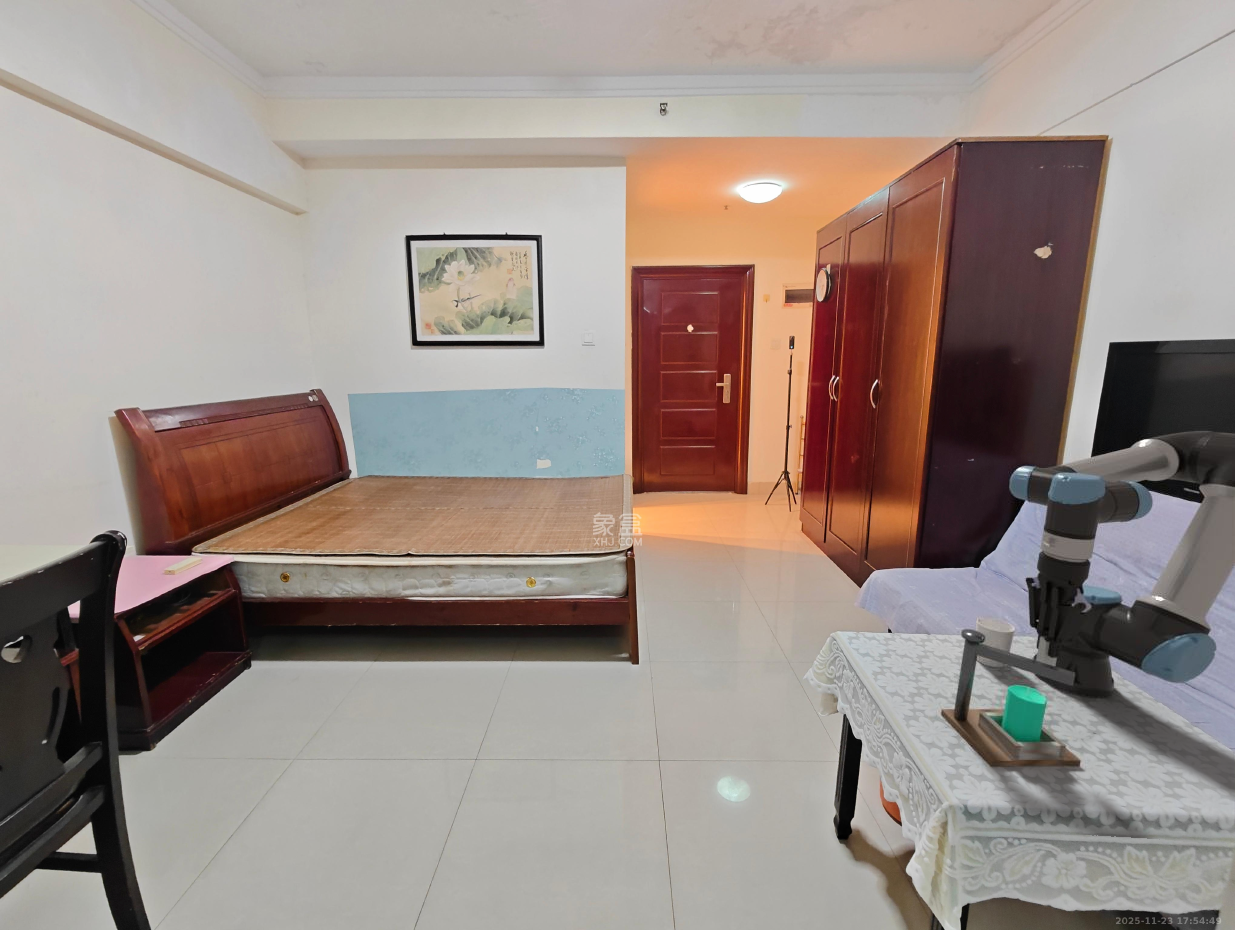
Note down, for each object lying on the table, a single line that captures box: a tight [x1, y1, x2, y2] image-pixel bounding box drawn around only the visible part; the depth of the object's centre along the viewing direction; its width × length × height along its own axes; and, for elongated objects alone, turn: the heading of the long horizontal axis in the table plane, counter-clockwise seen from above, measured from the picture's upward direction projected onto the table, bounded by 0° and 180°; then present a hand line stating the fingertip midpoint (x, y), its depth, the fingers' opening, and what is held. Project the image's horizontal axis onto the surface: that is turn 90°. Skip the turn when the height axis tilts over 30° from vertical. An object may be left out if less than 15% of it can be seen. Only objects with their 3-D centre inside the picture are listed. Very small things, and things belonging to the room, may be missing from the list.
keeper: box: [953, 628, 1075, 721], centre depth 104 cm, size 18×4×19 cm, turn 47°
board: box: [940, 708, 1082, 767], centre depth 106 cm, size 17×15×4 cm
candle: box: [1001, 684, 1048, 742], centre depth 103 cm, size 6×6×12 cm
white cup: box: [975, 616, 1016, 669], centre depth 134 cm, size 8×8×10 cm
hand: (1044, 668), depth 105 cm, fingers closed
